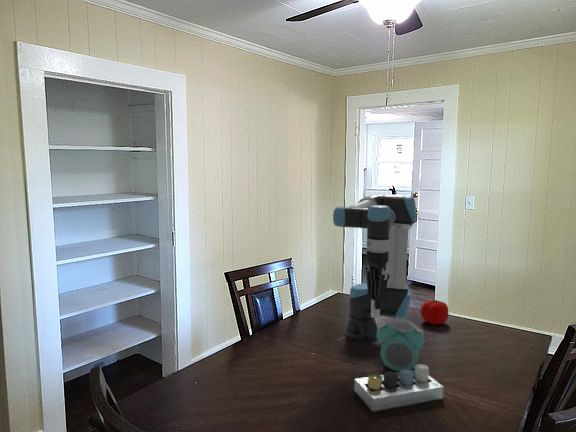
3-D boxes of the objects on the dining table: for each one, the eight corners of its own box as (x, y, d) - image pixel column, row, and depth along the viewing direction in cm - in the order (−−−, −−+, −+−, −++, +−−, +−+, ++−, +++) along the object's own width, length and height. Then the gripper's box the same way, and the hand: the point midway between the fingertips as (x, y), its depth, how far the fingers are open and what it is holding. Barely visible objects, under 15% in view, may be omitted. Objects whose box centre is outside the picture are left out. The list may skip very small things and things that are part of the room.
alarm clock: (423, 366, 165) (425, 316, 162) (422, 377, 156) (424, 325, 153) (377, 359, 170) (379, 310, 168) (374, 369, 161) (376, 319, 159)
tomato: (452, 328, 203) (453, 304, 202) (423, 327, 204) (425, 304, 202) (443, 318, 216) (444, 296, 214) (416, 318, 216) (417, 296, 214)
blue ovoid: (396, 386, 146) (397, 370, 145) (407, 384, 147) (408, 368, 146) (403, 393, 142) (404, 376, 141) (415, 391, 143) (416, 374, 142)
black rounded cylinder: (381, 389, 144) (381, 372, 143) (392, 387, 145) (393, 370, 145) (387, 396, 140) (388, 378, 139) (399, 394, 141) (400, 376, 140)
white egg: (411, 381, 147) (412, 365, 147) (422, 379, 149) (423, 363, 148) (419, 388, 143) (420, 371, 142) (430, 386, 145) (431, 369, 144)
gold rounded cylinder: (365, 392, 142) (365, 375, 141) (376, 390, 143) (377, 373, 143) (371, 398, 138) (372, 381, 137) (383, 396, 139) (384, 379, 139)
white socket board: (354, 391, 146) (354, 379, 145) (419, 380, 154) (420, 368, 153) (372, 412, 134) (373, 399, 133) (442, 399, 141) (443, 386, 141)
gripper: (359, 247, 151) (357, 311, 154) (377, 255, 139) (374, 324, 142) (377, 246, 153) (375, 309, 156) (397, 253, 141) (394, 322, 144)
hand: (375, 316), depth 149 cm, fingers closed
